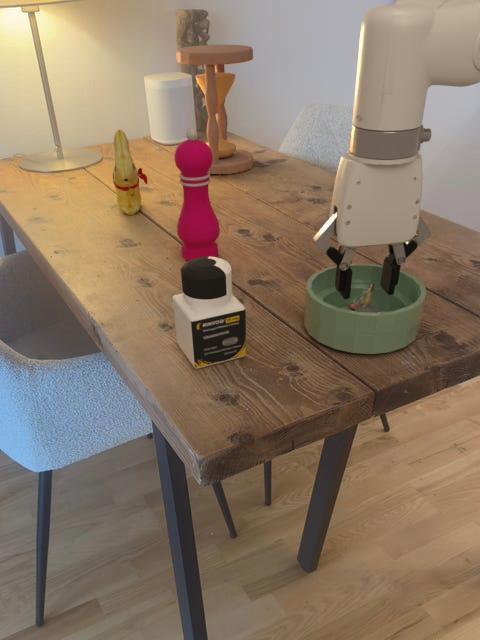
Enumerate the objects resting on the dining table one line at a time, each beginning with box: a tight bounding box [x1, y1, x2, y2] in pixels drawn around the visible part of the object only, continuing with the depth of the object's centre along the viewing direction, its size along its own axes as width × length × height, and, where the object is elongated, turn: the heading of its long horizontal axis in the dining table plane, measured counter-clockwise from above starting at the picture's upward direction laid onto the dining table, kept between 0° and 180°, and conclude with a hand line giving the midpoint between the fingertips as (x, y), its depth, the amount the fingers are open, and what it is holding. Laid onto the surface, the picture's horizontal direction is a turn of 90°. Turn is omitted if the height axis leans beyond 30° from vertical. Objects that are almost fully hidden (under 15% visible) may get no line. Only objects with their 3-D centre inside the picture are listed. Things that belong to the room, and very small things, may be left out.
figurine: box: [348, 283, 380, 313], centre depth 76 cm, size 5×4×6 cm
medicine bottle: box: [171, 256, 247, 370], centre depth 70 cm, size 7×7×12 cm
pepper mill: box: [174, 128, 221, 261], centre depth 92 cm, size 7×7×20 cm
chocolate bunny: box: [112, 129, 148, 216], centre depth 114 cm, size 7×11×15 cm, turn 11°
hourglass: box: [175, 44, 255, 176], centre depth 136 cm, size 18×18×25 cm
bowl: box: [303, 262, 428, 355], centre depth 76 cm, size 15×15×6 cm
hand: (365, 291), depth 74 cm, fingers open, 5 cm apart
